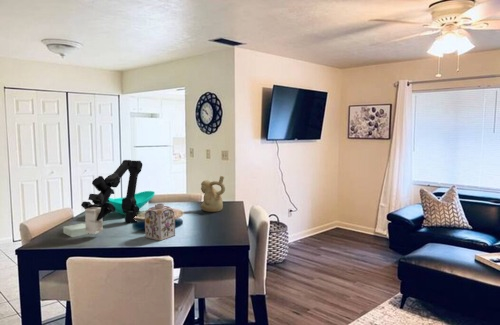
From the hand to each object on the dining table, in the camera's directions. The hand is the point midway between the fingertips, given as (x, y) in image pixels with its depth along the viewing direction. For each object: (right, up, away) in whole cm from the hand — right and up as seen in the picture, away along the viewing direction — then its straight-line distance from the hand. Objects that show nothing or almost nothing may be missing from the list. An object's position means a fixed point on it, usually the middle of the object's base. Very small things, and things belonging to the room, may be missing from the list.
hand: (91, 220), depth 197 cm
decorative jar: (+36, -10, +3) cm, 38 cm away
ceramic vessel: (+58, -4, +67) cm, 89 cm away
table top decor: (-1, -5, +59) cm, 60 cm away
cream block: (+1, -7, +2) cm, 7 cm away
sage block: (-12, -9, +12) cm, 20 cm away
